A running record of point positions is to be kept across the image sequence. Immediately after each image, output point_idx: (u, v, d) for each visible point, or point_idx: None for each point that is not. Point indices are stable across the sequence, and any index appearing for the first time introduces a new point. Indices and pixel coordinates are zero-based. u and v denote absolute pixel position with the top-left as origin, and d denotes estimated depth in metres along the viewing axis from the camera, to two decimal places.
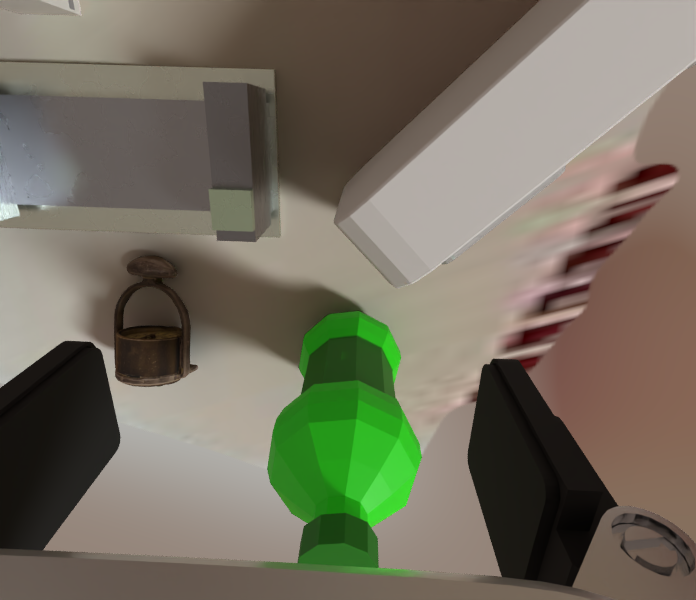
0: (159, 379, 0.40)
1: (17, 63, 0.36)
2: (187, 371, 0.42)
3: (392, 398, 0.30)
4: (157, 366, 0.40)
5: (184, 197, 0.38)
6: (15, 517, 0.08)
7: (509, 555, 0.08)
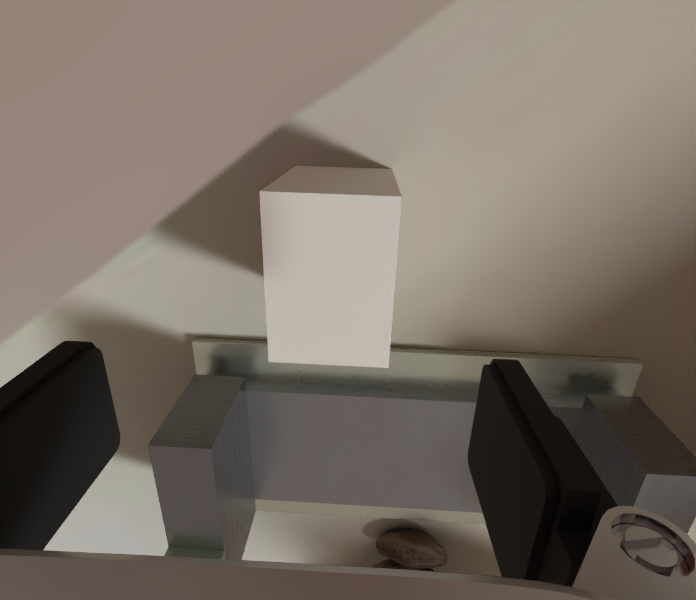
0: None
1: None
2: None
3: None
4: None
5: None
6: (15, 517, 0.08)
7: (509, 555, 0.08)
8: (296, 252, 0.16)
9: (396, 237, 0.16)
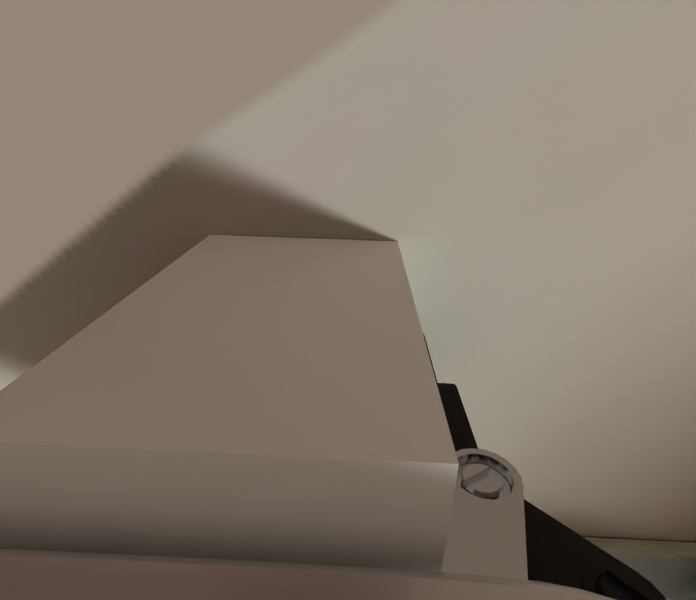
0: None
1: None
2: None
3: None
4: None
5: None
6: None
7: None
8: None
9: (433, 568, 0.05)
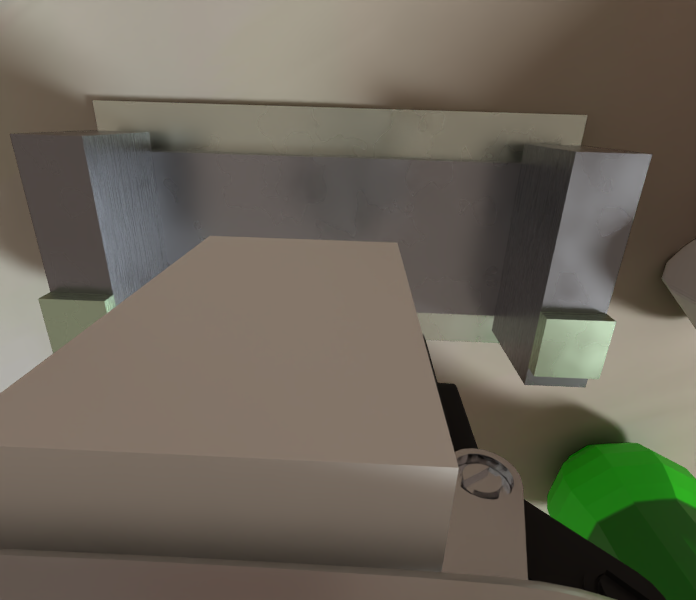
0: None
1: (195, 105, 0.24)
2: None
3: None
4: None
5: (421, 295, 0.26)
6: None
7: None
8: None
9: None
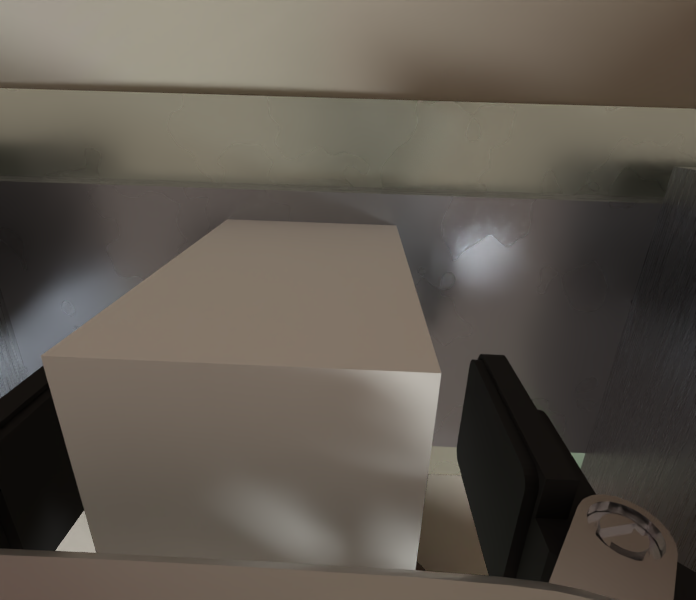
0: None
1: (51, 93, 0.13)
2: None
3: None
4: None
5: None
6: (36, 508, 0.08)
7: (493, 545, 0.08)
8: (164, 491, 0.06)
9: (423, 464, 0.06)
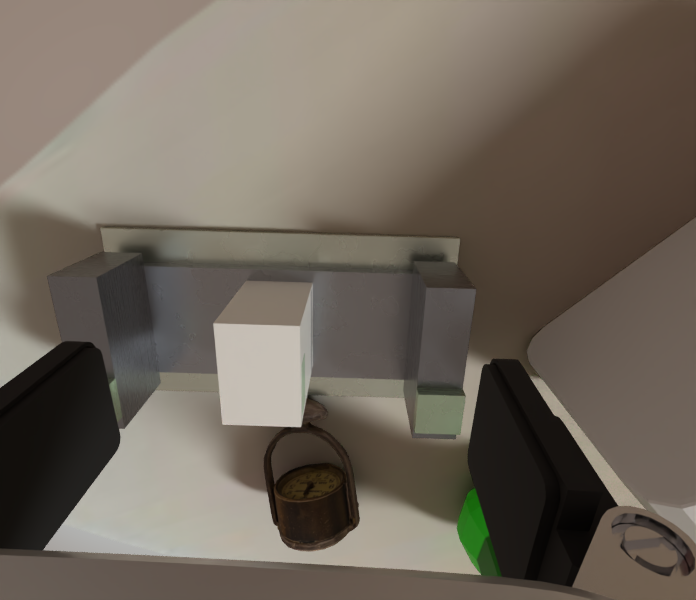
0: (334, 538, 0.35)
1: (176, 231, 0.32)
2: (358, 519, 0.37)
3: None
4: (330, 525, 0.35)
5: (348, 365, 0.35)
6: (15, 517, 0.08)
7: (509, 555, 0.08)
8: (237, 357, 0.26)
9: (298, 348, 0.25)
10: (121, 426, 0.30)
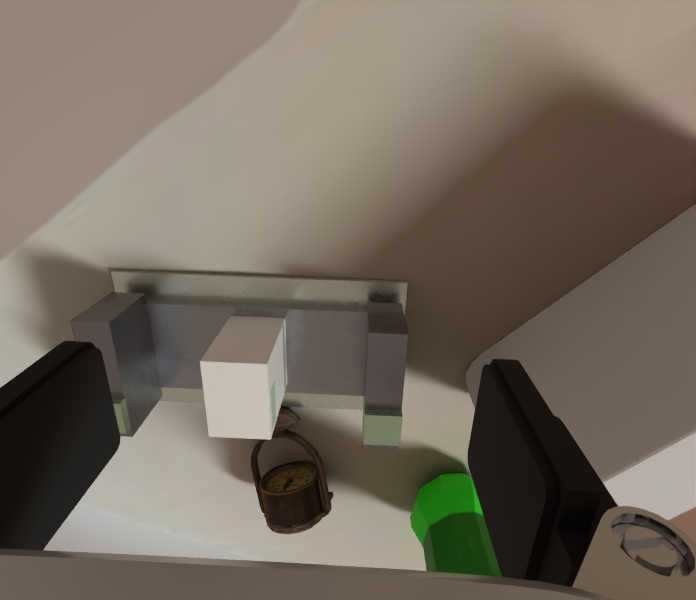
0: (309, 523, 0.43)
1: (173, 275, 0.39)
2: (330, 507, 0.44)
3: None
4: (305, 513, 0.43)
5: (316, 384, 0.42)
6: (15, 517, 0.08)
7: (509, 555, 0.08)
8: (219, 386, 0.33)
9: (266, 380, 0.32)
10: (130, 434, 0.37)
